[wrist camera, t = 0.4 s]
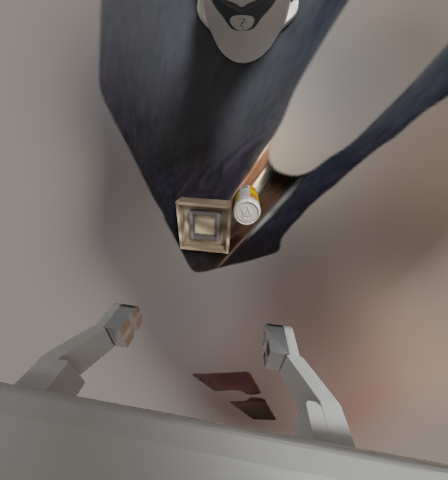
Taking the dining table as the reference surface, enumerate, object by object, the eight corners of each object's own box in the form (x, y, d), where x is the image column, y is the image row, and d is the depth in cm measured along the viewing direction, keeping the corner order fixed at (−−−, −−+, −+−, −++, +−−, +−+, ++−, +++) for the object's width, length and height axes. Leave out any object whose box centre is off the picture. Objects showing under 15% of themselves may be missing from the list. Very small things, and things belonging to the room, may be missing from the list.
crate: (181, 196, 52) (175, 201, 48) (232, 200, 51) (231, 206, 47) (185, 241, 60) (180, 248, 56) (229, 245, 59) (228, 253, 55)
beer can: (240, 208, 52) (238, 229, 39) (233, 189, 49) (228, 205, 36) (259, 201, 50) (264, 221, 37) (253, 181, 47) (256, 195, 35)
